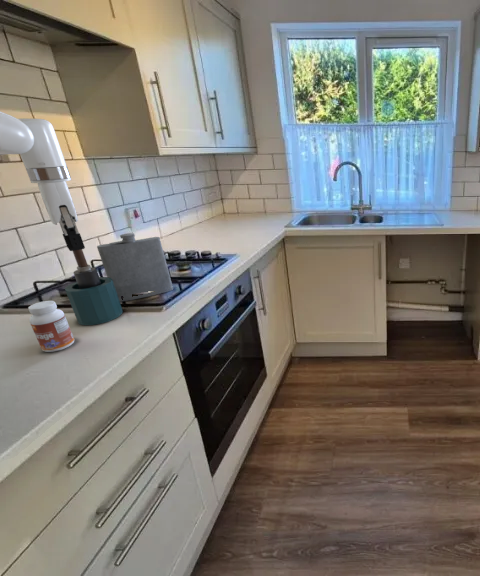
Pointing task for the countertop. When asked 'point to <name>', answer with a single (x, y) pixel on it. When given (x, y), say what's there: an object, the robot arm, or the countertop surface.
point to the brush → (85, 272)
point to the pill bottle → (50, 326)
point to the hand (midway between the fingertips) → (76, 248)
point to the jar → (94, 302)
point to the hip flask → (136, 266)
